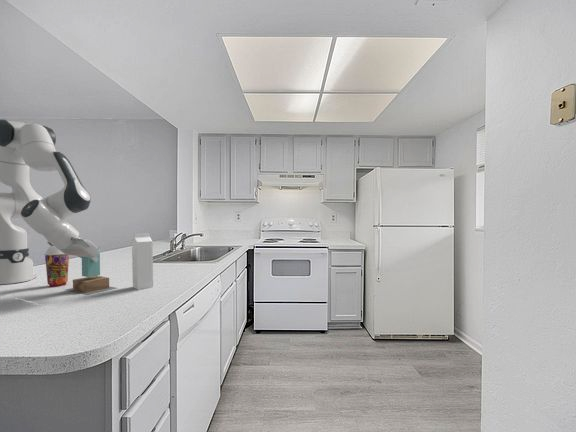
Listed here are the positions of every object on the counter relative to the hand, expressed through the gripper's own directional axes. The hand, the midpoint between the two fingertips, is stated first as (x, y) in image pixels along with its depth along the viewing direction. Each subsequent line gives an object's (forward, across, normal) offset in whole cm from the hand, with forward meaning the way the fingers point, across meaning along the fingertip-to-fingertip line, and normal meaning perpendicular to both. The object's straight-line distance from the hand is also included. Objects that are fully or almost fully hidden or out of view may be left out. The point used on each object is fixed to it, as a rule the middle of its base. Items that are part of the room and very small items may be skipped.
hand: (92, 260), depth 131 cm
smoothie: (+6, +19, +11) cm, 23 cm away
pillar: (+4, 0, +5) cm, 6 cm away
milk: (+16, -15, 0) cm, 22 cm away
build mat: (+8, 0, +9) cm, 12 cm away
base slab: (+7, 0, +8) cm, 11 cm away
